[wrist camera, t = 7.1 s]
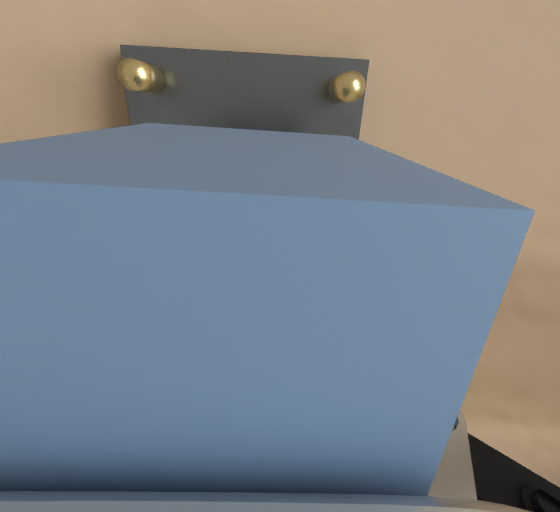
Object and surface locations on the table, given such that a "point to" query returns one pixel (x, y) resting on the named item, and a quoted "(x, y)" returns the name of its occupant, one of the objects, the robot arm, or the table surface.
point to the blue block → (238, 311)
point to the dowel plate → (243, 90)
